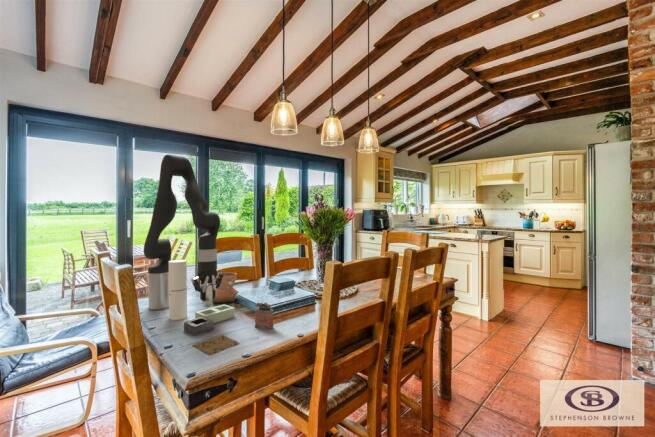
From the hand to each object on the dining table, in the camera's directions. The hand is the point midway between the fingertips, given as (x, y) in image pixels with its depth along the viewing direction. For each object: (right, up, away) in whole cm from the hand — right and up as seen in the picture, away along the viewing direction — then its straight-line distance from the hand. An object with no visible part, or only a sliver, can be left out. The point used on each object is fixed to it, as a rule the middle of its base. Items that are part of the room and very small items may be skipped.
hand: (207, 299), depth 132 cm
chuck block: (0, -10, -9) cm, 13 cm away
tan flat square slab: (+11, -11, -22) cm, 27 cm away
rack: (+2, -9, +3) cm, 10 cm away
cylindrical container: (-15, -9, +5) cm, 19 cm away
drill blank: (0, -3, 0) cm, 3 cm away
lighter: (+25, -10, -6) cm, 28 cm away
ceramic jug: (-3, -9, +30) cm, 32 cm away
